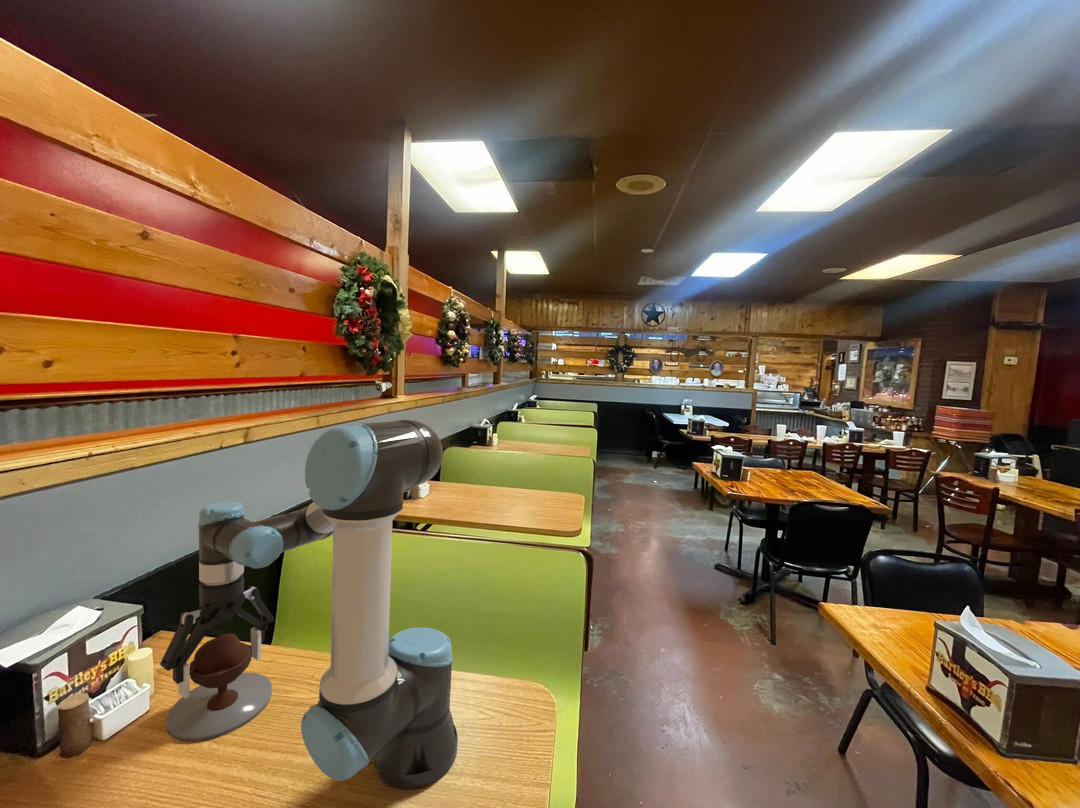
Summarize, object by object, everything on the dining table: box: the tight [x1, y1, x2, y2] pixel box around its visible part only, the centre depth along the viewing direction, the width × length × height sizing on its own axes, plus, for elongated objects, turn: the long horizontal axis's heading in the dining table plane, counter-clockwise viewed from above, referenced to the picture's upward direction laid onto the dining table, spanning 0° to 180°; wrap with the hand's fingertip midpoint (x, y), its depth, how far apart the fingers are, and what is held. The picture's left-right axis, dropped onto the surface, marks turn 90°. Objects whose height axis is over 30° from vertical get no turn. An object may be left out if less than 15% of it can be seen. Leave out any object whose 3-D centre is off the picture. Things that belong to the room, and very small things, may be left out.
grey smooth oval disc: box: [165, 672, 273, 742], centre depth 93 cm, size 18×18×1 cm
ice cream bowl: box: [189, 632, 253, 711], centre depth 93 cm, size 11×11×15 cm
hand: (222, 675), depth 93 cm, fingers open, 13 cm apart
